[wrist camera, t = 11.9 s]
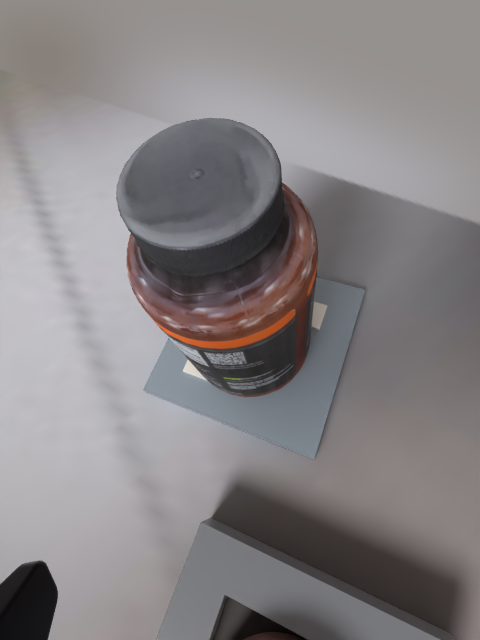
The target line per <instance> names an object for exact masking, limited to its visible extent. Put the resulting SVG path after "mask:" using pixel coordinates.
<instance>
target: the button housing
mask: <svg viewBox="0 0 480 640" xmlns="http://www.w3.org/2000/svg"><path fill="white" fill-rule="evenodd" d="M227 597H230V598H232V599H233V600H235V601H237V602H239V603H241V604H243V605H245V606H246V607H248V608H250V609H252V610H254V611H256V612H258V613H259V614H261V615H263V616H265V617H267V618H269V619H271V620H272V621H274V622H276V623H278V624H280V625H282V626H284V627H285V628H287V629H289V630H291V631H293V632H295V633H297V634H298V635H300V636H302V637H304V638H306V639H308V640H456V639H455V638H454V637H453V636H452V635H451V634H450V633H449V632H447V631H445V630H443V629H440V628H438V627H436V626H434V625H432V624H430V623H428V622H426V621H424V620H422V619H420V618H418V617H416V616H414V615H411V614H409V613H407V612H405V611H403V610H401V609H399V608H397V607H395V606H393V605H391V604H389V603H387V602H385V601H382V600H380V599H378V598H376V597H374V596H372V595H370V594H368V593H366V592H364V591H362V590H360V589H358V588H356V587H353V586H351V585H349V584H347V583H345V582H343V581H341V580H339V579H337V578H335V577H333V576H331V575H329V574H327V573H324V572H322V571H320V570H318V569H316V568H314V567H312V566H310V565H308V564H306V563H304V562H302V561H300V560H298V559H295V558H293V557H291V556H289V555H287V554H285V553H283V552H281V551H279V550H277V549H275V548H273V547H271V546H269V545H266V544H264V543H262V542H260V541H258V540H256V539H254V538H252V537H250V536H248V535H246V534H244V533H242V532H240V531H237V530H235V529H233V528H231V527H229V526H227V525H225V524H223V523H221V522H219V521H217V520H215V519H213V518H210V519H207V520H205V521H203V522H201V523H200V526H199V529H198V531H197V534H196V536H195V539H194V542H193V544H192V547H191V549H190V552H189V555H188V557H187V560H186V562H185V565H184V568H183V570H182V573H181V575H180V578H179V581H178V583H177V586H176V588H175V591H174V594H173V596H172V599H171V601H170V604H169V607H168V609H167V612H166V614H165V617H164V620H163V622H162V625H161V627H160V630H159V633H158V635H157V638H156V640H213V638H214V635H215V632H216V629H217V626H218V623H219V620H220V617H221V614H222V611H223V608H224V605H225V602H226V600H227Z"/></svg>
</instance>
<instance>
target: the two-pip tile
mask: <svg viewBox="0 0 480 640" xmlns="http://www.w3.org/2000/svg"><path fill="white" fill-rule="evenodd" d="M364 293H365V289H361V288H357V287H353V286H349V285H346V284H342V283H338V282H334V281H331V280H327V279H323V278H319V277H316V286H315V295H314V307H313V317H312V327H311V339H310V345H309V350H308V354H307V357H306V360H305V362H304V364H303V366H302V367H301V369H300V371H299V372H298V373H297V375H296V376H295V377H294V378H293V379H292V380H291V381H290V382H289V383H288V384H286V385H285V386H284V387H282V388H281V389H279V390H277V391H275V392H272V393H270V394H267V395H262V396H258V397H240V396H235V395H231V394H227V393H225V392H224V391H221V390H220V389H218V388H216V387H215V386H213V385H212V384H211V383H210V382H209V381H208V380H207V379H205V378H204V377H203V376H202V375H201V373H200V372H199V371H198V370H197V369H196V368H195V367H194V366H193V364H192V363H191V362H190V361H189V360H188V359H187V358H186V356H185V355H184V354H183V353H182V352H181V351H180V350H179V349H178V347H177V346H176V345H175V344H174V343H173V342H172V341H171V340H170V338H168V340H167V342H166V344H165V347H164V349H163V351H162V353H161V355H160V357H159V359H158V361H157V363H156V365H155V367H154V369H153V371H152V373H151V375H150V377H149V379H148V381H147V383H146V385H145V387H144V389H143V390H144V391H145V392H147V393H149V394H152V395H154V396H157V397H159V398H162V399H164V400H167V401H169V402H172V403H174V404H176V405H179V406H181V407H184V408H186V409H189V410H191V411H194V412H196V413H199V414H201V415H204V416H206V417H209V418H211V419H214V420H216V421H219V422H221V423H224V424H226V425H229V426H231V427H234V428H236V429H239V430H241V431H244V432H246V433H249V434H251V435H253V436H256V437H258V438H261V439H263V440H266V441H268V442H271V443H273V444H276V445H278V446H281V447H283V448H286V449H288V450H291V451H293V452H296V453H298V454H301V455H303V456H306V457H308V458H311V459H313V460H314V459H315V455H316V452H317V449H318V445H319V442H320V439H321V435H322V432H323V429H324V425H325V422H326V419H327V416H328V412H329V409H330V406H331V402H332V399H333V396H334V392H335V389H336V386H337V382H338V379H339V376H340V373H341V369H342V366H343V363H344V359H345V356H346V353H347V349H348V346H349V343H350V339H351V336H352V333H353V330H354V326H355V323H356V320H357V316H358V313H359V310H360V306H361V303H362V300H363V296H364Z"/></svg>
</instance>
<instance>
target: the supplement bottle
mask: <svg viewBox="0 0 480 640" xmlns="http://www.w3.org/2000/svg"><path fill="white" fill-rule="evenodd" d="M116 193H117V203H118V209H119V212H120V216H121V217H122V219H123V221H124V222H125V224H126V226H127V228H128V230H129V231H130V232H131V235H130V238H129V242H128V248H127V269H128V277H129V281H130V284H131V287H132V290H133V292H134V294H135V295H136V297H137V299H138V301H139V303H140V304H141V305H142V307H143V308H144V310H145V311H146V312H147V313H148V314H149V315H150V317H151V318H152V319H153V320H154V321H155V322H156V324H157V325H158V326H159V327H160V328H161V329H162V331H163V332H164V333H165V334H166V335H167V336H168V337H169V338H170V340H171V341H172V342H173V343H174V344H175V345H176V346H177V347H178V349H179V350H180V351H181V352H182V353H183V354H184V355H185V356H186V358H187V359H188V360H189V361H190V362H191V363H192V364H193V366H194V367H195V368H196V369H197V370H198V371H199V372H200V373H201V375H202V376H203V377H204V378H205V379H207V380H208V381H209V382H210V383H211V384H212V385H213V386H215V387H216V388H218V389H220V390H221V391H224V392H225V393H227V394H231V395H235V396H240V397H258V396H262V395H267V394H270V393H272V392H275V391H277V390H279V389H281V388H282V387H284V386H285V385H286V384H288V383H289V382H290V381H291V380H292V379H293V378H294V377H295V376H296V375H297V373H298V372H299V371H300V369H301V367H302V366H303V364H304V362H305V360H306V357H307V354H308V350H309V345H310V339H311V327H312V317H313V307H314V295H315V286H316V277H317V262H318V246H317V237H316V230H315V227H314V224H313V221H312V218H311V216H310V214H309V211H308V209H307V208H306V207H305V205H304V204H303V202H302V200H301V199H300V198H299V197H298V196H297V195H296V194H295V193H294V192H293V191H292V190H291V189H290V188H289V187H287V186H286V185H285V184H283V183H282V178H281V164H280V161H279V158H278V155H277V153H276V151H275V149H274V148H273V146H272V144H271V143H270V142H269V141H268V140H267V139H266V138H265V137H264V136H263V135H262V134H260V133H259V132H258V131H257V130H255V129H254V128H251V127H249V126H247V125H245V124H243V123H240V122H236V121H233V120H229V119H217V118H206V119H199V120H191V121H187V122H183V123H180V124H177V125H173V126H171V127H169V128H167V129H165V130H163V131H161V132H159V133H158V134H156V135H155V136H153V137H151V138H150V139H149V140H147V141H146V142H145V143H143V144H142V145H141V146H140V147H139V148H138V149H137V150H136V151H135V152H134V154H133V155H132V156H131V158H130V159H129V160H128V161H127V163H126V164H125V166H124V168H123V170H122V173H121V175H120V178H119V181H118V184H117V192H116Z"/></svg>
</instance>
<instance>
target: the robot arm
mask: <svg viewBox="0 0 480 640" xmlns="http://www.w3.org/2000/svg"><path fill="white" fill-rule="evenodd" d="M57 599H58V591H57V586H56V584H55V582H54V580H53V578H52V575H51V573H50V571H49V569H48V567H47V565H46V563H45V562H43V561H35V562H29V563H24V564H22V565H21V566H19V567H18V568H17V569H16V570H15V571H14V572H13V573H12V574H11V575H10V576H9V577H7V578H6V579H5V580H4V581H3V582H2V583H1V584H0V640H48V636H49V632H50V628H51V624H52V620H53V616H54V612H55V608H56V604H57Z"/></svg>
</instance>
